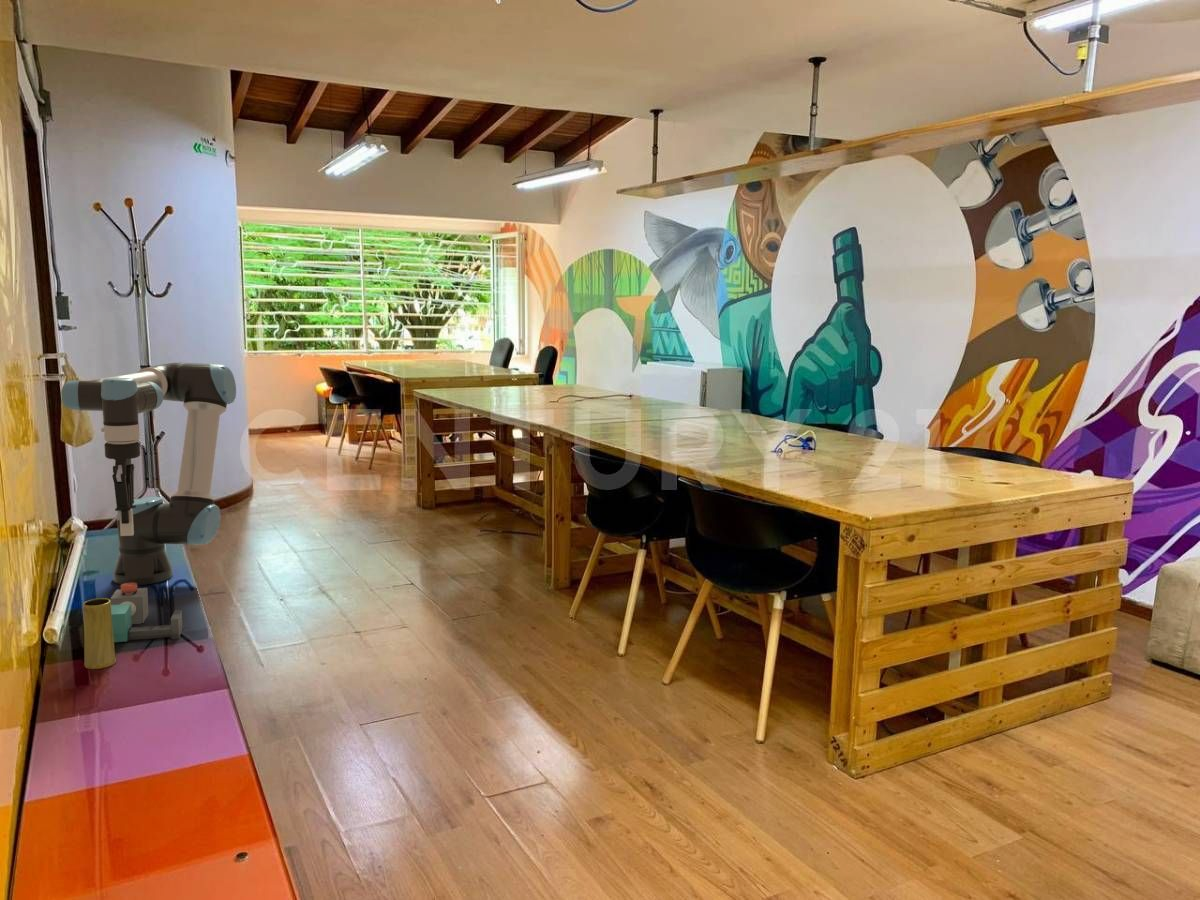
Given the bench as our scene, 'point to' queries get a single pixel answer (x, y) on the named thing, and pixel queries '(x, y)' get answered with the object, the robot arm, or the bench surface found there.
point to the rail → (159, 629)
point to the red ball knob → (129, 588)
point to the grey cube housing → (133, 603)
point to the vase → (98, 634)
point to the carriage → (121, 621)
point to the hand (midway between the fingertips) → (127, 534)
